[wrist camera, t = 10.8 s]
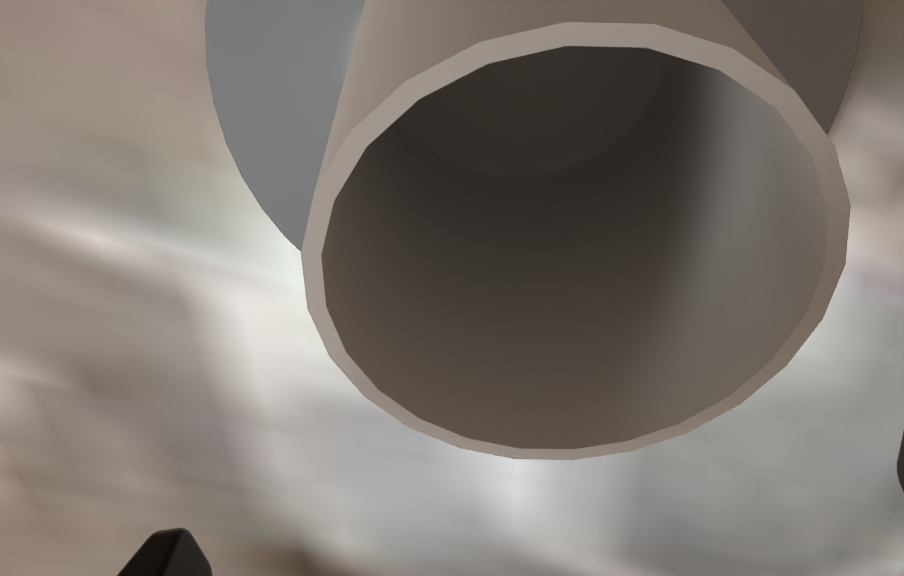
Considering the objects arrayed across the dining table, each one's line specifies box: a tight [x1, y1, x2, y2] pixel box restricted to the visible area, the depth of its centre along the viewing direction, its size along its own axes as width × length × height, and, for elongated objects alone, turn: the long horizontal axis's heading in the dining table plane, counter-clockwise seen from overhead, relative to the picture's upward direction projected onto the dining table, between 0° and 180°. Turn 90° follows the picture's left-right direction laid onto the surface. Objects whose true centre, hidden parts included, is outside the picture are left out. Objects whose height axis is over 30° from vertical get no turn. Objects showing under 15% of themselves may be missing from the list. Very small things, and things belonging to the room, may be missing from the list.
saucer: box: [205, 0, 863, 251], centre depth 19 cm, size 15×15×1 cm
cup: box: [301, 0, 850, 460], centre depth 15 cm, size 7×10×9 cm
